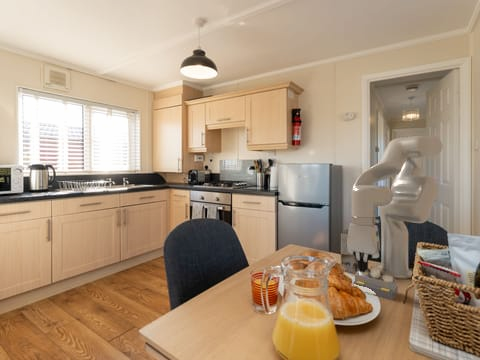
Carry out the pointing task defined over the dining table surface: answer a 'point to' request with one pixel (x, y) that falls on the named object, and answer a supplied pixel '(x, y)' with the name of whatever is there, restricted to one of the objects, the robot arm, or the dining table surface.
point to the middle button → (375, 272)
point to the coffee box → (347, 255)
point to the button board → (378, 285)
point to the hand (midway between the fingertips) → (362, 270)
